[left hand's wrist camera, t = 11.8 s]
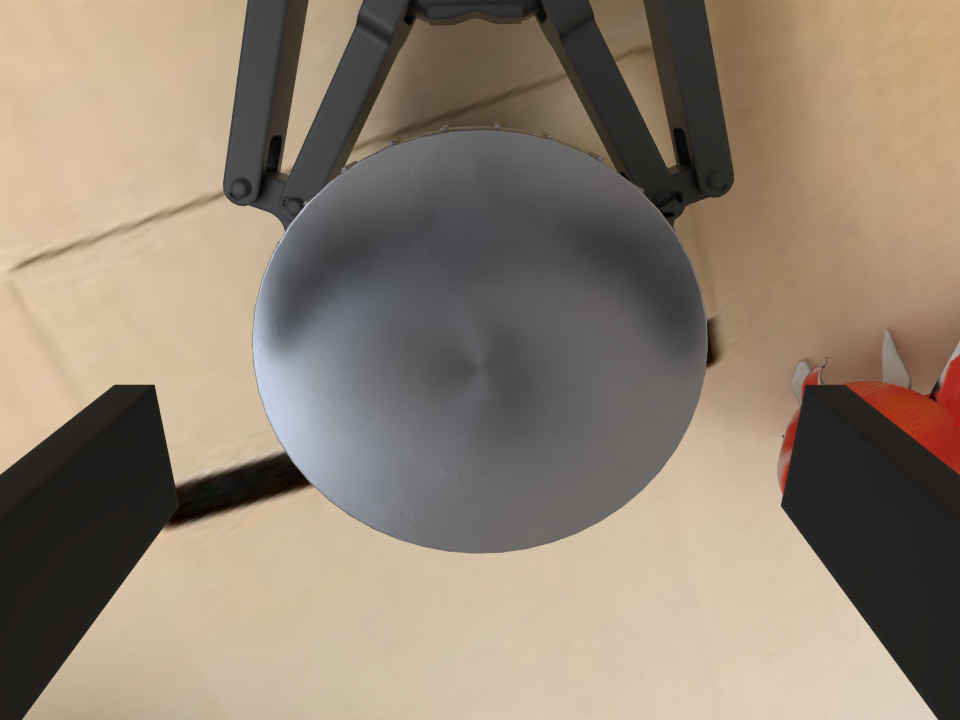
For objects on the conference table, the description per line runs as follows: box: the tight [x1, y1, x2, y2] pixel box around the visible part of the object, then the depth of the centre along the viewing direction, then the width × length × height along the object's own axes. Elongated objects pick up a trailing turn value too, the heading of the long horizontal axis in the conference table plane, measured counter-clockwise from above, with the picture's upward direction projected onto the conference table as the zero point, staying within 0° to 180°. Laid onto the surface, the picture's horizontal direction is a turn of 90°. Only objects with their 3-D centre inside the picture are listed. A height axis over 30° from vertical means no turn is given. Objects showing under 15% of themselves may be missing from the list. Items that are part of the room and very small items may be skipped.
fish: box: [777, 329, 960, 494], centre depth 29 cm, size 11×16×10 cm
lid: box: [252, 122, 708, 553], centre depth 17 cm, size 12×12×2 cm
